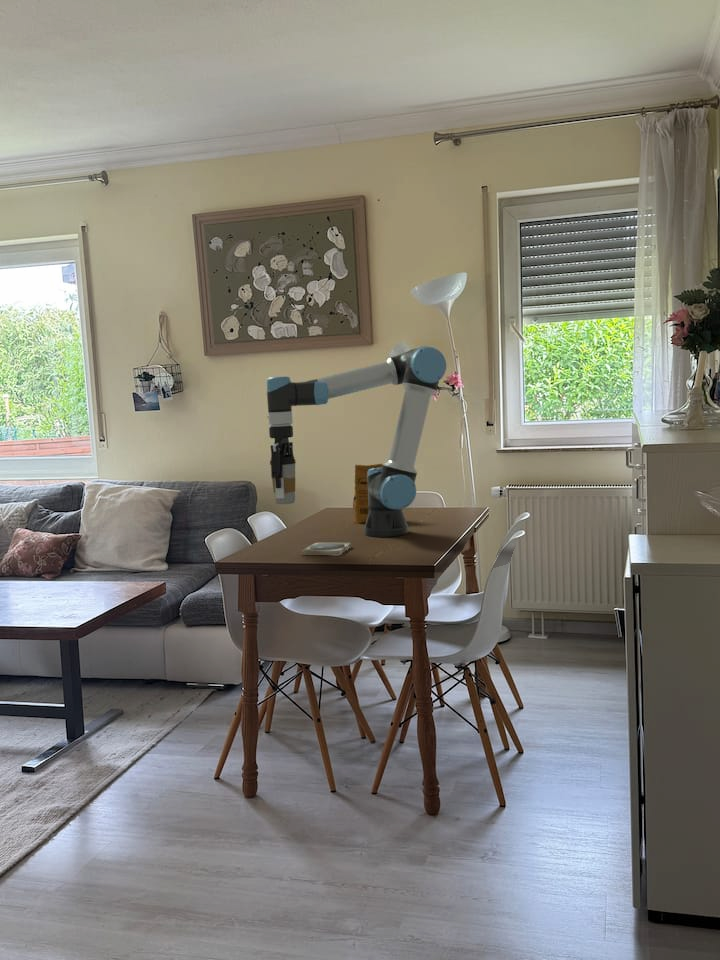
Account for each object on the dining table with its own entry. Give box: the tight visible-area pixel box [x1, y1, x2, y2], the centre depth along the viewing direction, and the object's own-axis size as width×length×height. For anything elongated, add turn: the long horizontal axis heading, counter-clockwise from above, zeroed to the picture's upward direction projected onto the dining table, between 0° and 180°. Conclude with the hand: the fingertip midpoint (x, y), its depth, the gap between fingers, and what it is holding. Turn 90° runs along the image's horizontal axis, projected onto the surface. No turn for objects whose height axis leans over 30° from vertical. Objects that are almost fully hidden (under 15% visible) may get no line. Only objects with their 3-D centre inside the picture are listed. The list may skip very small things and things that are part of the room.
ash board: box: [301, 541, 353, 557], centre depth 270 cm, size 14×12×2 cm
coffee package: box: [352, 463, 384, 524], centre depth 326 cm, size 10×12×22 cm
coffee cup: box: [269, 455, 297, 505], centre depth 276 cm, size 8×8×15 cm
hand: (284, 496), depth 277 cm, fingers closed on coffee cup, 7 cm apart
